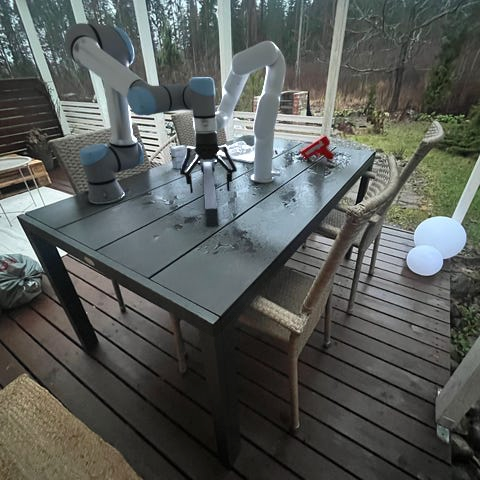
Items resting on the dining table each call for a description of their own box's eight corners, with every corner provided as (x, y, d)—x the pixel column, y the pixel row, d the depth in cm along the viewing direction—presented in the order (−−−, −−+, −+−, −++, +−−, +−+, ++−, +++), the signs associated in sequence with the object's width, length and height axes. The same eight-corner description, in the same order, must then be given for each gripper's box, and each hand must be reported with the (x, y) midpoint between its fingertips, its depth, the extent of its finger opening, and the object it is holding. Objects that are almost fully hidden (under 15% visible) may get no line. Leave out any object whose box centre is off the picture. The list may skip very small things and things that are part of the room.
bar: (204, 173, 155) (203, 160, 151) (212, 173, 155) (211, 160, 151) (206, 226, 104) (205, 209, 100) (218, 225, 104) (217, 208, 100)
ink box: (184, 164, 169) (181, 144, 163) (188, 165, 166) (186, 146, 160) (172, 167, 164) (169, 147, 158) (176, 169, 161) (174, 148, 155)
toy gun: (337, 154, 172) (326, 134, 168) (337, 156, 169) (325, 135, 165) (312, 169, 182) (300, 150, 178) (311, 171, 179) (299, 152, 175)
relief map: (251, 162, 170) (251, 154, 168) (209, 154, 188) (209, 146, 185) (273, 153, 189) (273, 145, 186) (233, 146, 206) (233, 139, 204)
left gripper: (166, 134, 86) (175, 197, 97) (244, 131, 88) (244, 192, 100) (168, 130, 92) (177, 189, 103) (241, 127, 95) (241, 185, 106)
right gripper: (188, 141, 135) (192, 176, 145) (222, 139, 137) (223, 174, 147) (189, 137, 142) (192, 171, 152) (221, 136, 143) (222, 170, 153)
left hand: (210, 191), depth 102 cm, fingers open, 13 cm apart
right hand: (208, 172), depth 149 cm, fingers closed on bar, 4 cm apart
